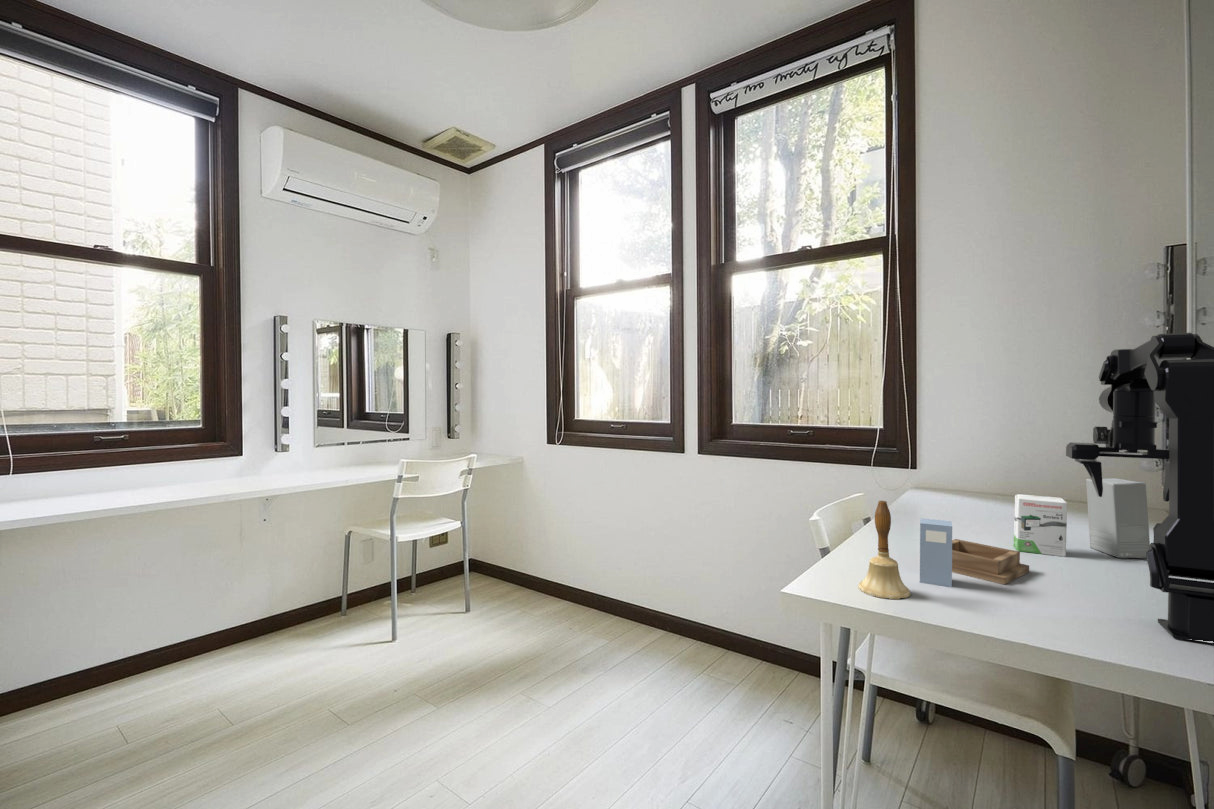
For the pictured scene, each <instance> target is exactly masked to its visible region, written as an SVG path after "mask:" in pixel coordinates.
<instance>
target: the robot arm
mask: <svg viewBox="0 0 1214 809" xmlns="http://www.w3.org/2000/svg"><path fill="white" fill-rule="evenodd" d="M1100 369H1101V370H1100V372H1099V376H1098V380H1099V382H1100V385H1101V386H1106V385H1108V387H1107V388H1105V389H1104V390H1102V391H1101V392H1100V395H1099V397H1098V403H1099V405H1100V407H1101V408H1103V410H1105V411H1106V412H1108V413H1111V414H1112V420H1111V427H1110V429H1109V428H1108V427H1107V426H1094V427H1093V430H1092V439H1093V442H1072V441H1071V442H1069V443H1067V444H1066V447H1065V456H1066V457H1068V458H1070V459H1074V462H1077V463H1078V464H1081V465H1083V466H1084V468H1085V470H1086V471H1087V473H1088V475H1089V476H1090V479H1091V480H1092V482H1093V485H1094V487H1095V490H1096V492H1097V495H1098V496H1099V497H1102V493H1103V483H1102V479H1103V470H1102V462H1101V461H1100V460H1098V457H1107V458H1108V457H1109V458H1110V457H1111V458H1127V459H1128V458H1131V459H1133V458H1134V459H1154V460H1155V459H1157V460H1158V459H1159V460H1168V461H1164V468H1165V476H1164V482H1163V491H1162V497H1163V500H1162V501H1163V502H1168V504H1169V505H1168V516H1166V517H1165V519H1164V520H1163V521H1162V522H1161V523H1159V522H1158V523H1157V522H1156V524H1155V525H1154V526H1153V528H1152V530H1153V531H1152V532H1153V542H1151V543H1150V546H1149V549H1148V551H1147V552H1146V557H1147V559H1146V562H1147V565H1148V570H1149V586H1150V587H1151V588H1153V589H1157V590H1160V591H1161V593H1167V597H1168V598H1167V619H1165V618H1157V623H1158V624H1159V625H1160V626H1161V627H1162V628H1163V629H1164V630H1166V632H1167V633H1168V634H1169V635H1170V636H1171V637H1172V636H1173V637H1172V638H1174V637H1175V638H1174V639H1178V638H1180V639H1179V640H1184V639H1192V640H1203V641H1213V642H1214V346H1212V345H1211V344H1208V343H1206V342H1204V341H1203V339H1202V338H1201V336H1200V334H1198V333H1192V332H1175V333H1174V332H1173V333H1172V332H1171V333H1158V334H1157V335H1152V336H1151V337H1150V340H1148V341H1146V342H1145V343H1143V344H1140V345H1139V346H1137V347H1135V348H1119V349H1117V348H1116V349H1113V350H1112V351H1111V352H1110V355H1107V356H1106V358H1105V360H1104V361H1103V363H1102V366H1101V368H1100ZM1156 405H1157V406H1158V407H1159V409H1161V411H1162V412H1163V413H1164V415H1165V417H1167V419H1168V420H1169V421H1168V424H1169V425H1168V426H1169V427H1168V431H1169V432H1168V434H1169V435H1168V439H1169V440H1168V442H1169V443H1168V444H1169V445H1168V446H1167V448H1163V449H1162V448H1157V445H1156V444H1155V442H1156V429H1157V428H1158V422H1156ZM1100 445H1105V446H1100ZM1183 578H1185V579H1183ZM1210 581H1211V582H1210ZM1181 638H1182V639H1181Z"/></svg>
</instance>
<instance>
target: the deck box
mask: <svg viewBox="0 0 1214 809" xmlns="http://www.w3.org/2000/svg"><path fill="white" fill-rule="evenodd" d="M919 519H920V522H919V524H920V525H919V583H923V584H929V585H934V586H935V585H936V586H943V587H949V588H952V587H953V586H952V585H953V583H952V581H953V579H952V578H953V572H952V540H953V523H952V520H944V519H933V518H932V519H931V518H926V517H924V518H923V517H920V518H919Z"/></svg>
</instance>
